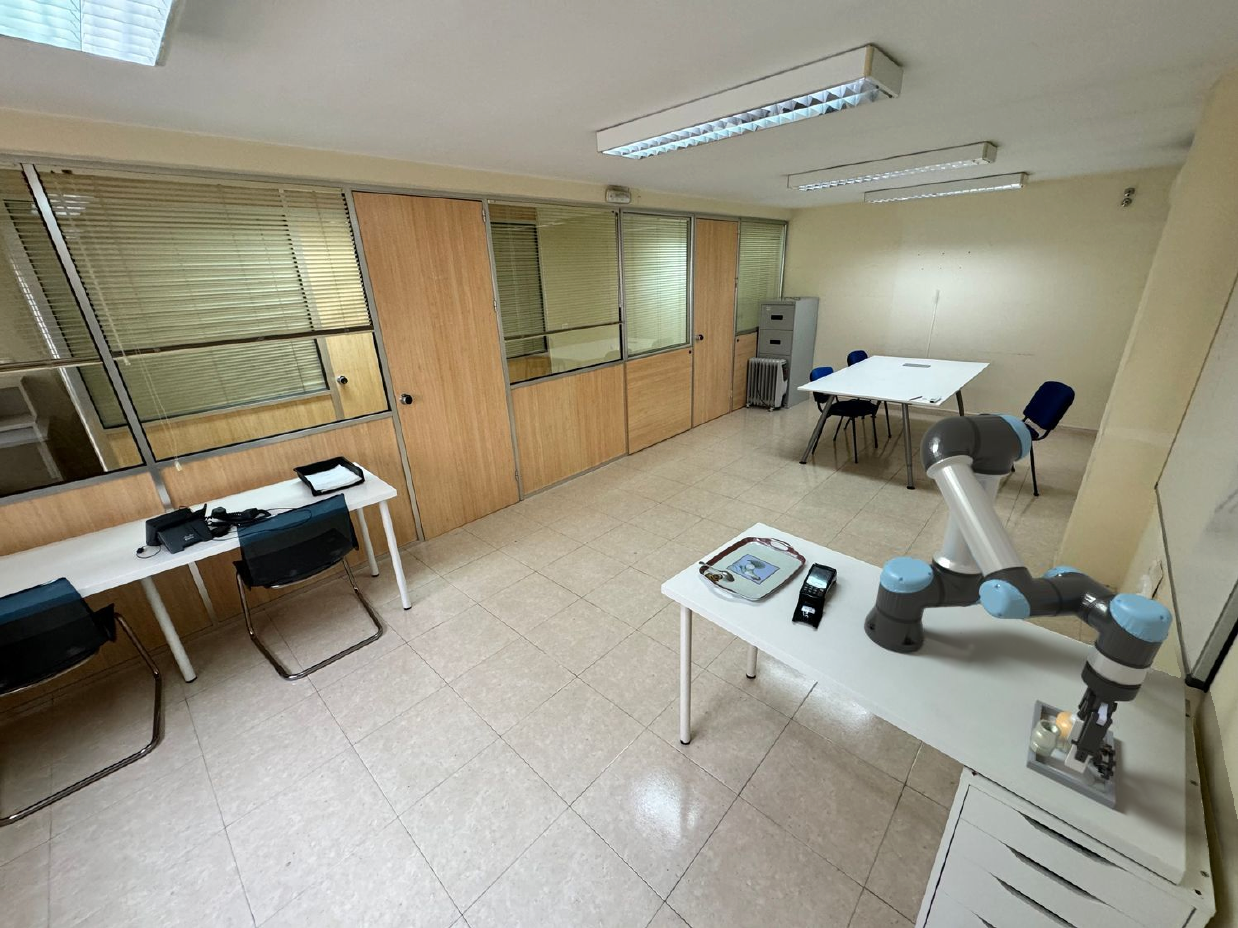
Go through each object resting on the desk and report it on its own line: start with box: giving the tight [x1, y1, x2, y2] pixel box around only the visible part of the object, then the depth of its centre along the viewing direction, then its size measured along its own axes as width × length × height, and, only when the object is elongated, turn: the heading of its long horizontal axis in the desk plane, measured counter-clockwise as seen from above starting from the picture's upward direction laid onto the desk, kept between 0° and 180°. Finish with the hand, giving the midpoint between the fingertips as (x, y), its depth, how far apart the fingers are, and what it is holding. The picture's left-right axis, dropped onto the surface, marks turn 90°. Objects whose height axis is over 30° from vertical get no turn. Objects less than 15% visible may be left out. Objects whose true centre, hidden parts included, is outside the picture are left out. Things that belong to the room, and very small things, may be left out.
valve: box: [1028, 719, 1117, 780], centre depth 98 cm, size 7×7×12 cm
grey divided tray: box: [1025, 699, 1117, 810], centre depth 103 cm, size 13×20×3 cm, turn 137°
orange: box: [1054, 711, 1079, 738], centre depth 105 cm, size 6×6×6 cm
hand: (1074, 755), depth 98 cm, fingers closed on valve, 6 cm apart
